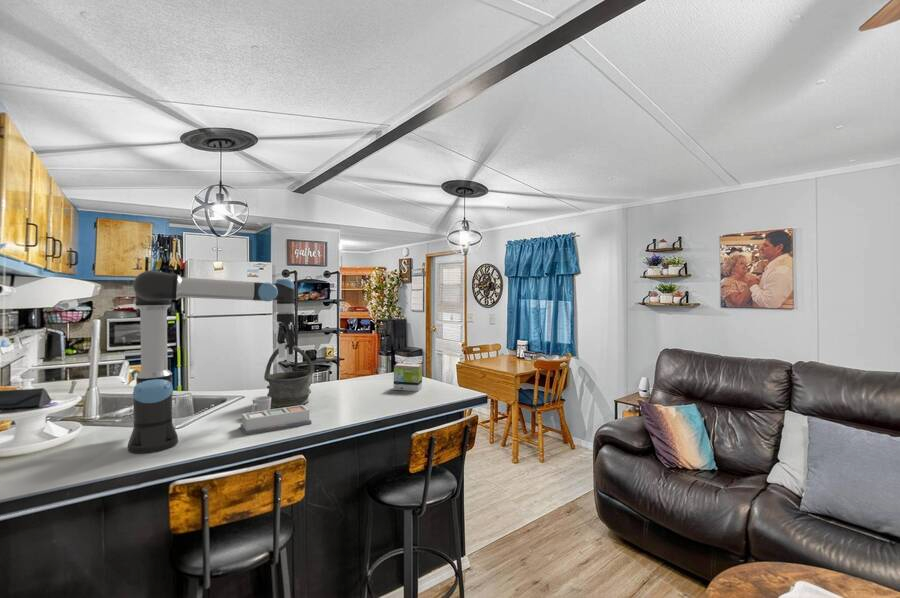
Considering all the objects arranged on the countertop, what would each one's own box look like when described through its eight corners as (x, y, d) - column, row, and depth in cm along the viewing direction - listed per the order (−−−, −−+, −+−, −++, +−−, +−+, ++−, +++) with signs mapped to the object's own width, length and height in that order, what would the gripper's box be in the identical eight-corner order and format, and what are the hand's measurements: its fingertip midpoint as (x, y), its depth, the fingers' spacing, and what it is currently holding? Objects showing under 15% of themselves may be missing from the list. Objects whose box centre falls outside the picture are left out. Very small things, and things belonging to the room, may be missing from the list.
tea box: (393, 390, 246) (393, 365, 246) (398, 386, 256) (398, 362, 256) (418, 391, 244) (418, 366, 244) (422, 387, 254) (422, 363, 254)
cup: (260, 420, 188) (260, 402, 188) (244, 419, 190) (244, 401, 189) (274, 413, 199) (274, 396, 198) (259, 412, 200) (259, 395, 200)
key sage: (271, 419, 178) (271, 414, 178) (268, 416, 182) (268, 411, 182) (284, 417, 180) (284, 412, 180) (281, 414, 185) (281, 410, 185)
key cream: (250, 422, 173) (250, 417, 173) (248, 419, 177) (248, 414, 177) (263, 420, 176) (263, 415, 176) (261, 417, 180) (261, 413, 180)
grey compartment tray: (245, 435, 169) (245, 420, 169) (240, 427, 179) (240, 413, 178) (311, 423, 184) (311, 410, 184) (303, 416, 194) (303, 404, 193)
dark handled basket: (274, 397, 228) (274, 342, 227) (318, 397, 228) (318, 342, 228) (257, 409, 206) (256, 347, 205) (305, 409, 206) (305, 347, 206)
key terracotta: (291, 416, 182) (291, 411, 182) (288, 413, 186) (288, 409, 186) (303, 414, 185) (303, 409, 185) (299, 411, 189) (299, 407, 189)
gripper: (302, 314, 185) (302, 362, 186) (286, 311, 206) (286, 355, 206) (284, 314, 181) (284, 364, 181) (269, 312, 201) (270, 356, 202)
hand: (285, 359), depth 194 cm, fingers open, 13 cm apart
